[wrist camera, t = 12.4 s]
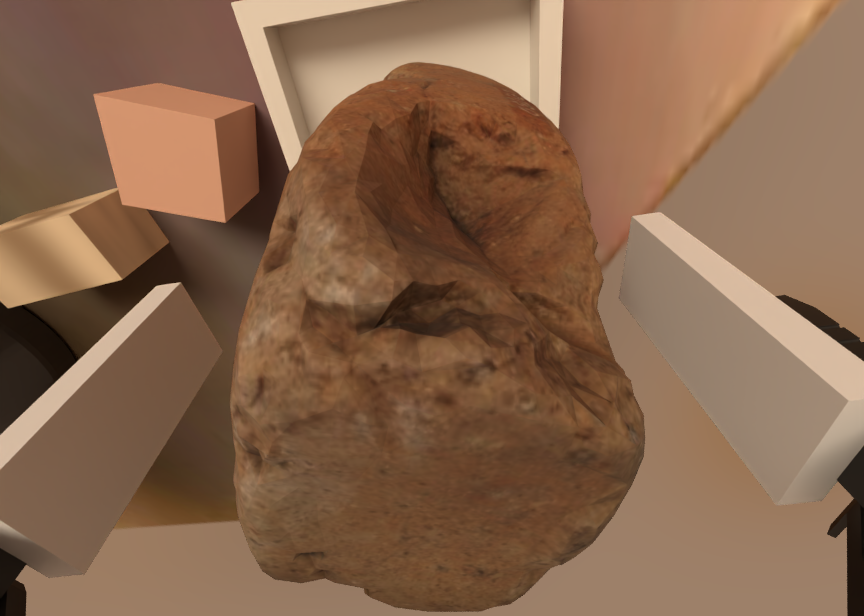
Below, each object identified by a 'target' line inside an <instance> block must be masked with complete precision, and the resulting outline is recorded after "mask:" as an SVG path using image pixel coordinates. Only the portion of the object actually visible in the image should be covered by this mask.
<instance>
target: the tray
mask: <svg viewBox="0 0 864 616" xmlns="http://www.w3.org/2000/svg"><path fill="white" fill-rule="evenodd" d="M563 1H564V0H243V1H238V2H233V3H231V5H232V7H233V10H234V13H235V16H236V19H237V22H238V25H239V27H240V30H241V33H242V36H243V39H244V42H245V45H246V47H247V50H248V53H249V56H250V59H251V62H252V65H253V67H254V70H255V73H256V76H257V79H258V82H259V85H260V87H261V90H262V93H263V96H264V99H265V102H266V105H267V107H268V110H269V113H270V116H271V119H272V122H273V125H274V127H275V130H276V133H277V136H278V139H279V142H280V145H281V147H282V150H283V153H284V156H285V159H286V162H287V165H288V167H289V170H290V171H291V170H292V168H293V167H294V166H295V164H296V163H297V162H298V159H299V156H300V154H301V151H302V148H303V145H304V143H305V141H306V140H307V139H308V138H309V137H310V136H311V135H312V134H313V133H314V131H315V130H316V128H317V127H318V126H319V124H320V123H321V122H322V121H323V119H324V118H325V117H326V116H327V115H328V114H329V113H330V111H331V110H332V109H333V108H334V107H335V106H336V105H338V104H339V103H340V102H342V101H343V100H344V99H345V98H347V97H348V96H349V95H351V94H354V93H356V92H357V91H359V90H360V89H362V88H364V87H365V86H367V85H369V84H372V83H376V82H379V81H383V80H384V78H385V77H386V76H387V75H388V74H389V73H390V72H391V71H392V70H394V69H395V68H397V67H399V66H401V65H404V64H407V63H412V62H423V63H434V64H440V65H446V66H451V67H456V68H460V69H464V70H467V71H470V72H473V73H477V74H480V75H483V76H486V77H488V78H491V79H493V80H495V81H497V82H499V83H501V84H503V85H505V86H507V87H509V88H511V89H512V90H514V91H516V92H517V93H518V94H520V95H521V96H522V97H523V98H525V99H526V100H528V101H529V102H531V103H532V104H534V105H535V106H536V107H537V108H538V109H539V110H540V111H541V112H542V113H543V114H544V115H545V116H546V117H547V118H549V119H550V120H551V121H552V122H553V123H554V125H555V126H556V127H557V128H558V129H559V109H560V82H561V55H562V28H563Z"/></svg>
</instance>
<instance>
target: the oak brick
mask: <svg viewBox="0 0 864 616" xmlns="http://www.w3.org/2000/svg"><path fill="white" fill-rule="evenodd" d="M168 243H169V241H168V239H167V238H166V236H165V235H164V234H163V232H162V231H161V229H160V228H159V226H158V225H157V224H156V222H155V221H154V219H153V218H152V216H151V215H150V214H149V212H148V211H147V209H144V208H139V207H133V206H127V205H122V202H121V198H120V194H119V190H118V188H115V189H112V190H108V191H105V192H101V193H98V194H94V195H91V196H88V197H84V198H81V199H77V200H74V201H70V202H67V203H64V204H60V205H57V206H53V207H50V208H46V209H43V210H40V211H36V212H33V213H29V214H26V215H22V216H20V217H18V218H16V219H13V220H11V221H9V222H7V223H4V224H2V225H0V301H1V302H2V303H3V304H4V305H5V306H6V307H7V308H12V307H16V306H20V305H24V304H28V303H32V302H36V301H40V300H44V299H48V298H52V297H55V296H59V295H63V294H67V293H71V292H75V291H79V290H83V289H87V288H91V287H95V286H99V285H103V284H107V283H111V282H115V281H119V280H123V279H124V278H125V277H126V276H128V275H129V274H130V273H131V272H133V271H134V270H135V269H136V268H138V267H139V266H140V265H142V264H143V263H144V262H145V261H147V260H148V259H149V258H150V257H152V256H153V255H154V254H155V253H157V252H158V251H159V250H160V249H162V248H163V247H164V246H165V245H167V244H168Z"/></svg>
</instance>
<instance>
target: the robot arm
mask: <svg viewBox="0 0 864 616" xmlns="http://www.w3.org/2000/svg"><path fill="white" fill-rule="evenodd" d="M619 299H620V300H621V302H622V303H623V304H624V306H625V307H626V308H627V309H628V311H629V312H630V313H631V315H632V316H633V317H634V319H635V320H636V321H637V323H638V324H639V325H640V327H641V328H642V329H643V331H644V332H645V333H646V335H647V336H648V337H649V338H650V340H651V341H652V342H653V344H654V345H655V346H656V348H657V349H658V350H659V352H660V353H661V354H662V356H663V357H664V358H665V360H666V361H667V362H668V363H669V365H670V366H671V367H672V369H673V370H674V371H675V373H676V374H677V375H678V377H679V378H680V379H681V380H682V382H683V383H684V385H685V386H686V387H687V388H688V390H689V391H690V392H691V394H692V395H693V396H694V398H695V399H696V400H697V402H698V403H699V404H700V405H701V407H702V408H703V410H704V411H705V412H706V413H707V415H708V416H709V417H710V419H711V420H712V421H713V423H714V424H715V425H716V427H717V428H718V429H719V431H720V432H721V433H722V434H723V436H724V437H725V438H726V440H727V441H728V442H729V444H730V445H731V446H732V448H733V449H734V450H735V452H736V453H737V454H738V456H739V457H740V458H741V460H742V461H743V462H744V463H745V465H746V466H747V467H748V469H749V470H750V471H751V473H752V474H753V475H754V477H755V478H756V479H757V480H758V482H759V483H760V485H761V486H762V487H763V488H764V490H765V491H766V492H767V494H768V495H769V496H770V498H771V499H772V500H773V502H774V503H775V504H776V505H784V504H785V505H786V504H796V503H806V502H816V501H822V500H823V499H824V498H825V496H826V495H827V494H828V493H829V491H830V490H831V489H832V488H833V486H834V485H835V484H836V483H837V481H838V482H839V483H840V484H841V485H842V486H843V487H844V488H845V489H846V490H847V491H848V492H849V493H850V494H851V495H852V497H853V498H854V499H853V500H852V502H851V503H850V504H849V505H848V506H847V507H846V508H845V509H844V510H843V512H842V513H841V514H840V515H839V516H838V517H837V518H836V520H835V521H834V522H833V523H832V524H831V526H830V528H829V531H828V533H827V534H828V535H830V536H832V537H835V538H836V537H837V536H838V535H839V534H840V533H841V532H842V531H843V530H844V528H846V527H847V594H848V595H847V602H848V603H847V609H848V616H864V342H860V340H859V339H860V338H859V337H857V336H856V335H854V334H853V333H852V332H850V331H849V330H847V329H846V328H840V327H839V324H838V323H837V322H836V321H834V320H833V319H831V318H829V317H828V316H827V315H825V314H824V313H822V312H821V311H820V310H818V309H817V308H815V307H813V306H810V305H808V304H805V303H803V302H800V301H798V300H796V299H793V298H791V297H789V296H786V295H782V296H774V295H772V294H771V293H770V292H768V291H767V290H766V289H764V288H763V287H762V286H760V285H759V284H757V283H756V282H755V281H753V280H752V279H751V278H749V277H748V276H747V275H745V274H744V273H742V272H741V271H740V270H738V269H737V268H736V267H734V266H733V265H732V264H730V263H729V262H727V261H726V260H725V259H723V258H722V257H721V256H719V255H718V254H717V253H715V252H714V251H712V250H711V249H710V248H708V247H707V246H706V245H704V244H703V243H702V242H700V241H699V240H697V239H696V238H695V237H693V236H692V235H691V234H689V233H688V232H687V231H685V230H684V229H682V228H681V227H680V226H678V225H677V224H676V223H674V222H673V221H672V220H670V219H669V218H667V217H666V216H665V215H663V214H662V213H661V212H658V213H651V214H644V215H637V216H632V218H631V224H630V231H629V237H628V244H627V250H626V257H625V263H624V270H623V276H622V283H621V289H620V295H619ZM222 352H223V351H222V349H221V347H220V346H219V344H218V343H217V341H216V339H215V338H214V336H213V334H212V333H211V331H210V329H209V328H208V326H207V324H206V323H205V321H204V319H203V318H202V316H201V315H200V313H199V311H198V310H197V308H196V306H195V305H194V303H193V301H192V300H191V298H190V296H189V295H188V293H187V291H186V290H185V288H184V287H183V285H182V283H181V282H179V283H172V284H165V285H159V286H156V287H155V288H154V289H153V290H152V291H151V292H150V293H148V294H147V295H146V296H145V297H144V298H143V299H142V300H141V301H140V302H139V303H138V304H137V305H136V306H135V307H134V308H133V309H132V310H131V311H130V312H129V313H128V314H126V315H125V316H124V317H123V318H122V319H121V320H120V321H119V322H118V323H117V324H116V325H115V326H114V327H113V328H112V329H111V330H110V331H109V332H108V333H107V334H106V335H105V336H103V337H102V338H101V339H100V340H99V341H98V342H97V343H96V344H95V345H94V346H93V347H92V348H91V349H90V350H89V351H88V352H87V353H86V354H85V355H84V356H83V357H81V358H80V359H79V360H78V361H77V362H76V361H75V359H74V357H73V355H72V354H71V352H70V351H69V349H68V348H67V347H66V345H65V344H64V343H63V342H62V340H61V339H60V338H59V337H58V336H57V335H56V334H55V333H54V332H53V331H52V330H51V329H50V328H49V327H47V326H46V325H45V324H44V323H43V322H41V321H40V320H39V319H38V318H36V317H35V316H34V315H32V314H31V313H29V312H28V311H27V310H25V309H23V308H22V307H20V306H16V307H12V308H7V307H6V306H5V305H4V304H3V303H2V302H1V301H0V616H26V590H25V587H24V584H22V583H20V582H18V581H16V580H15V579H16V578H17V576H18V575H19V573H20V572H21V570H23V568H24V566H25V565H28V566H29V567H31V568H33V569H34V570H36V571H38V572H40V573H41V574H43V575H45V576H46V577H48V578H52V577H61V576H71V575H82V574H85V573H86V571H87V570H88V568H89V566H90V565H91V563H92V562H93V560H94V558H95V557H96V555H97V554H98V552H99V550H100V549H101V547H102V545H103V544H104V542H105V541H106V539H107V537H108V536H109V534H110V532H111V531H112V529H113V528H114V526H115V525H116V523H117V521H118V520H119V518H120V516H121V515H122V513H123V512H124V510H125V508H126V507H127V505H128V504H129V502H130V500H131V499H132V497H133V495H134V494H135V492H136V491H137V489H138V487H139V486H140V484H141V483H142V481H143V479H144V478H145V476H146V475H147V473H148V471H149V470H150V468H151V466H152V465H153V463H154V462H155V460H156V458H157V457H158V455H159V454H160V452H161V450H162V449H163V447H164V445H165V444H166V442H167V441H168V439H169V437H170V436H171V434H172V433H173V431H174V429H175V428H176V426H177V425H178V423H179V421H180V420H181V418H182V416H183V415H184V413H185V412H186V410H187V408H188V407H189V405H190V404H191V402H192V400H193V399H194V397H195V395H196V394H197V392H198V391H199V389H200V387H201V386H202V384H203V383H204V381H205V379H206V378H207V376H208V375H209V373H210V371H211V370H212V368H213V366H214V365H215V363H216V362H217V360H218V358H219V357H220V355H221V354H222Z"/></svg>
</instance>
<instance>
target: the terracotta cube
mask: <svg viewBox="0 0 864 616" xmlns="http://www.w3.org/2000/svg"><path fill="white" fill-rule="evenodd" d="M93 95H94V99H95V102H96V106H97V110H98V114H99V118H100V122H101V125H102V129H103V133H104V137H105V141H106V145H107V148H108V152H109V156H110V160H111V164H112V168H113V171H114V175H115V179H116V183H117V187H118V190H119V194H120V198H121V202H122V205H127V206H133V207H139V208H144V209H150V210H156V211H161V212H167V213H173V214H178V215H184V216H190V217H195V218H201V219H207V220H212V221H218V222H224V223H226V222H227V221H228V220H229V219H230V218H231V217H232V216H234V215H235V214H236V213H237V212H238V211H239V210H240V209H241V208H242V207H243V206H244V205H246V204H247V203H248V202H249V201H250V200H251V199H252V198H253V197H254V196H255V195H256V194H257V193H259V174H258V155H257V136H256V117H255V103H250V102H245V101H240V100H236V99H231V98H226V97H222V96H217V95H212V94H208V93H203V92H198V91H194V90H189V89H184V88H179V87H175V86H170V85H165V84H161V83H155V84H150V85H144V86H138V87H132V88H127V89H121V90H115V91H110V92H104V93H98V94H93Z"/></svg>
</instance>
